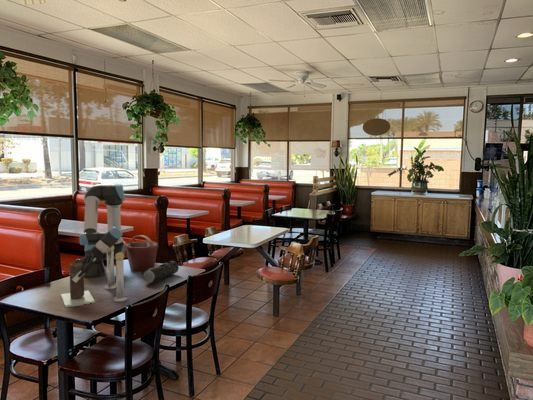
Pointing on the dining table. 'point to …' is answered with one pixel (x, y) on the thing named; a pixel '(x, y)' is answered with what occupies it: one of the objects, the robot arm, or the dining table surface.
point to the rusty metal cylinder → (78, 286)
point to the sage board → (77, 299)
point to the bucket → (141, 254)
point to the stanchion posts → (119, 274)
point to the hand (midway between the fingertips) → (72, 278)
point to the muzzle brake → (160, 272)
